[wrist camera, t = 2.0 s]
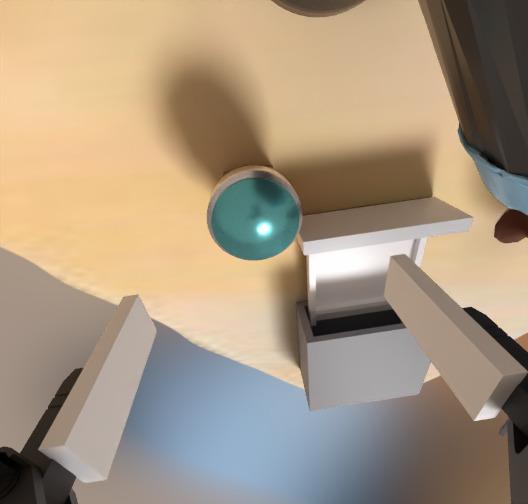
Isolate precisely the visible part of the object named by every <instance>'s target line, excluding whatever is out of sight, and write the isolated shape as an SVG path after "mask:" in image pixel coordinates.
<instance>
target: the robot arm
mask: <svg viewBox="0 0 528 504" xmlns="http://www.w3.org/2000/svg"><path fill="white" fill-rule="evenodd" d="M271 1H273V2H274V3H276V4H277V5H278V6H280V7H282V8H284V9H285V10H288V11H290V12H292V13H295V14H298V15H302V16H307V17H327V16H333V15H337V14H340V13H343V12H345V11H348V10H350V9H352V8H354V7H356V6H357V5H359V4H361V3H362V2H364V1H365V0H271ZM418 2H419V4H420V7H421V10H422V13H423V15H424V18H425V21H426V24H427V27H428V30H429V33H430V36H431V39H432V42H433V45H434V48H435V51H436V54H437V57H438V60H439V63H440V66H441V69H442V72H443V75H444V78H445V81H446V84H447V87H448V90H449V93H450V96H451V99H452V102H453V105H454V108H455V111H456V114H457V117H458V120H459V128H458V134H459V138H460V141H461V143H462V145H463V147H464V148H465V150H466V151H467V153H468V154H469V155H470V156H471V157H472V158H473V160H474V162H475V164H476V167H477V169H478V171H479V174H480V176H481V178H482V181H483V183H484V184H485V186H486V187H487V189H488V190H489V191H490V192H491V193H492V194H493V196H494V197H495V198H497V199H498V200H499V201H500V202H501V203H503V204H504V205H506V206H507V207H509V208H511V209H514V210H517V211H520V212H523V213H524V214H526V215H528V0H418ZM384 297H385V298H386V300H387V301H388V303H389V304H390V305H391V307H392V308H393V309H394V311H395V312H396V314H397V315H398V316H399V318H400V319H401V321H402V322H403V323H404V325H405V326H406V327H407V329H408V330H409V332H410V333H411V334H412V336H413V337H414V338H415V340H416V341H417V343H418V344H419V345H420V347H421V348H422V350H423V351H424V352H425V354H426V355H427V356H428V358H429V359H430V361H431V362H432V363H433V365H434V366H435V368H436V369H437V370H438V372H439V373H440V374H441V376H442V377H443V379H444V380H445V381H446V383H447V384H448V386H449V387H450V388H451V390H452V391H453V392H454V394H455V395H456V397H457V398H458V399H459V400H460V402H461V403H462V405H463V406H464V408H465V409H466V410H467V412H468V413H469V414H470V416H471V417H472V419H473V420H474V421H477V420H483V419H489V418H495V417H496V416H497V414H498V413H499V412H500V410H501V409H503V411H504V412H505V413H506V414H507V415H508V417H509V419H508V420H507V421H506V422H505V424H504V425H503V426H502V428H501V429H500V432H499V434H500V435H502V436H504V434H505V433H506V432H508V450H509V451H508V452H509V471H510V491H511V504H528V352H527V351H526V350H524V349H523V348H522V347H521V346H520V345H519V344H518V343H516V341H514V340H513V339H512V338H511V337H510V336H507V333H505V332H504V331H503V330H502V329H501V328H498V325H496V324H495V323H494V322H493V321H492V320H491V319H490V318H489V317H487V316H486V315H485V314H483V313H481V312H479V311H478V310H476V309H474V308H472V307H467V308H461V307H460V306H459V305H458V304H457V303H456V302H455V301H454V300H453V299H452V298H451V297H450V296H449V295H448V294H446V293H445V292H444V291H443V290H442V289H441V288H440V287H439V286H438V285H437V284H436V283H435V282H434V281H433V280H432V279H431V278H430V277H429V276H428V275H427V274H426V273H425V272H423V271H422V270H421V269H420V268H419V267H418V266H417V265H416V264H415V263H414V262H413V261H412V260H411V259H410V258H409V257H408V256H407V255H406V254H400V255H394V256H390V261H389V267H388V273H387V279H386V285H385V291H384ZM156 332H157V330H156V328H155V326H154V324H153V322H152V320H151V318H150V316H149V314H148V312H147V310H146V309H145V307H144V305H143V303H142V301H141V299H140V297H139V295H132V296H126V297H123V299H122V300H121V302H120V304H119V306H118V308H117V309H116V311H115V313H114V315H113V317H112V318H111V320H110V322H109V324H108V326H107V328H106V329H105V331H104V333H103V335H102V336H101V338H100V340H99V342H98V343H97V345H96V347H95V349H94V351H93V352H92V354H91V356H90V358H89V359H88V361H87V363H86V365H85V367H84V368H80V369H75V370H74V371H73V372H72V373H71V374H70V375H69V376H68V377H67V378H66V379H65V380H64V382H63V383H62V385H61V386H60V388H59V390H58V391H57V393H56V395H55V398H53V400H52V401H51V403H50V405H49V406H48V410H46V411H45V413H44V414H43V416H42V418H41V419H40V421H39V423H38V424H37V426H36V428H35V429H34V431H33V433H32V434H31V436H30V438H29V439H28V441H27V443H26V444H25V446H24V448H23V449H22V451H21V452H20V454H19V453H18V452H16V451H15V450H13V449H12V448H9V447H1V448H0V504H78V502H77V498H76V495H75V492H74V491H73V489H72V486H73V483H74V481H75V479H76V477H77V478H78V479H80V480H81V481H82V482H84V483H89V482H96V481H102V480H107V477H108V473H109V471H110V468H111V465H112V462H113V458H114V456H115V453H116V450H117V447H118V444H119V441H120V438H121V435H122V432H123V429H124V427H125V424H126V421H127V417H128V415H129V412H130V409H131V406H132V403H133V400H134V397H135V394H136V391H137V388H138V385H139V382H140V379H141V376H142V373H143V370H144V367H145V364H146V362H147V359H148V356H149V353H150V350H151V347H152V343H153V341H154V338H155V335H156Z"/></svg>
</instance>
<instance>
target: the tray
mask: <svg viewBox="0 0 528 504" xmlns="http://www.w3.org/2000/svg"><path fill="white" fill-rule="evenodd" d="M473 218H474V217H472V216H470V215H468V214H466V213H465V212H463V211H461V210H459V209H457V208H455V207H453V206H451V205H449V204H447V203H445V202H444V201H442V200H440V199H438V198H436V197H429V198H422V199H415V200H408V201H401V202H394V203H388V204H381V205H374V206H367V207H360V208H353V209H346V210H339V211H332V212H325V213H318V214H311V215H304V216H303V219H302V225H301V228H300V231H299V233H298V235H297V237H296V238H297V240H298V242H299V245H300V247H301V250H302V252H303V255H306V259H307V290H308V319H309V323H310V326H315V325H316V321H318V320H325V319H332V318H338V317H345V316H352V315H358V314H365V313H372V312H378V311H385V310H392V309H393V308H392V307H391V305H390V304H389V303H388V301H387V300H386V298H385V297H384V291H385V285H386V279H387V273H388V267H389V261H390V256H394V255H400V254H406V255H407V256H408V257H409V258H410V259H411V260H412V261H413V262H414V263H415V264H416V265H417V266H418V267H419V268H420V265H421V261H422V257H423V253H424V249H425V246H426V242H427V238H428V237H432V236H439V235H446V234H453V233H459V232H466V231H469V229H470V227H471V224H472V221H473Z"/></svg>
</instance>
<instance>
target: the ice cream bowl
mask: <svg viewBox="0 0 528 504" xmlns="http://www.w3.org/2000/svg"><path fill="white" fill-rule="evenodd" d="M494 237H495V238H497V239H498V240H499V241H500V242H503V243H512V242H518V241H520V240H522V239H524V238H525V237H527V238H528V215H526V214H524V213H523V212H520V211H517V210H514V209H512V210H510V211H508V212H507V213H505V214H504V215H503V217H502V218H501V219H500V221H499V222H498V223H497V225H496V226H495V235H494Z"/></svg>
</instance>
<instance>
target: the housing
mask: <svg viewBox="0 0 528 504" xmlns="http://www.w3.org/2000/svg"><path fill="white" fill-rule="evenodd" d="M296 312H297V327H298V342H299V357H300V370H301V375H302V379H303V383H304V388H305V392H306V396H307V401H308V405H309V409H310V411H313V410H320V409H327V408H333V407H340V406H345V405H352V404H359V403H365V402H371V401H378V400H384V399H391V398H397V397H403V396H410V395H417V394H419V392H420V390H421V387H422V384H423V382H424V379H425V376H426V374H427V371H428V368H429V366H430V363H431V361H430V359H429V358H428V356H427V355H426V354H425V352H424V351H423V350H422V348H421V347H420V345H419V344H418V343H417V341H416V340H415V338H414V337H413V336H412V334H411V333H410V332H409V330H408V329H407V327H406V326H405V325H404V323H403V322H402V321H401V319H400V318H399V316H398V315H397V314H396V312H395V311H394V309H392V310H385V311H378V312H372V313H365V314H358V315H352V316H345V317H338V318H332V319H325V320H318V321H316V325H315V326H310V323H309V319H308V301H305V302H298V303H296Z"/></svg>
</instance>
